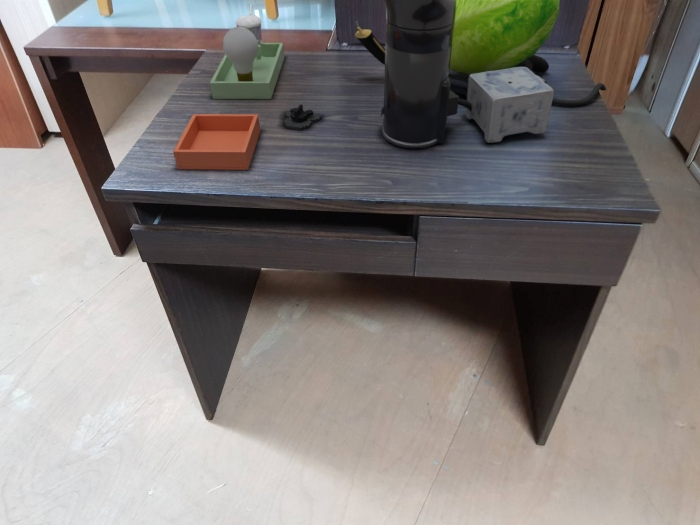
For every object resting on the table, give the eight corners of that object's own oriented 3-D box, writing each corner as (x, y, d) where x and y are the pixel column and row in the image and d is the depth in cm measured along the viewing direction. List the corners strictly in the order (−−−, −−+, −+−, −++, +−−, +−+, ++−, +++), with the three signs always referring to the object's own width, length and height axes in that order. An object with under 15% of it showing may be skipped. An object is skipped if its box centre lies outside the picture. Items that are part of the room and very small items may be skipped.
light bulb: (225, 82, 100) (216, 25, 93) (257, 75, 101) (249, 19, 95) (235, 95, 96) (225, 36, 89) (267, 88, 97) (260, 30, 91)
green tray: (284, 57, 109) (283, 42, 107) (271, 99, 95) (269, 82, 93) (233, 57, 109) (231, 42, 107) (212, 98, 95) (209, 82, 94)
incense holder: (517, 115, 91) (458, 116, 89) (531, 65, 86) (470, 64, 84) (545, 142, 84) (482, 144, 82) (562, 90, 79) (496, 90, 77)
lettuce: (450, 117, 95) (446, 70, 106) (583, 52, 85) (564, 6, 95) (409, 51, 87) (408, 6, 97) (551, -32, 76) (534, -73, 86)
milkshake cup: (269, 59, 107) (263, 5, 100) (263, 70, 103) (256, 15, 96) (246, 59, 107) (238, 5, 101) (239, 70, 103) (231, 14, 97)
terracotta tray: (260, 131, 87) (258, 114, 85) (248, 169, 78) (245, 152, 76) (196, 130, 87) (193, 113, 85) (177, 169, 79) (173, 151, 77)
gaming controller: (529, 80, 104) (507, 52, 101) (551, 65, 101) (528, 35, 99) (528, 105, 96) (503, 75, 94) (551, 89, 93) (526, 58, 91)
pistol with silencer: (488, 47, 83) (495, 93, 92) (357, 17, 95) (375, 60, 104) (475, 69, 82) (483, 113, 92) (344, 35, 94) (363, 78, 104)
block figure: (274, 112, 86) (288, 97, 90) (276, 126, 88) (289, 111, 92) (310, 117, 85) (322, 102, 89) (311, 131, 86) (323, 115, 90)
